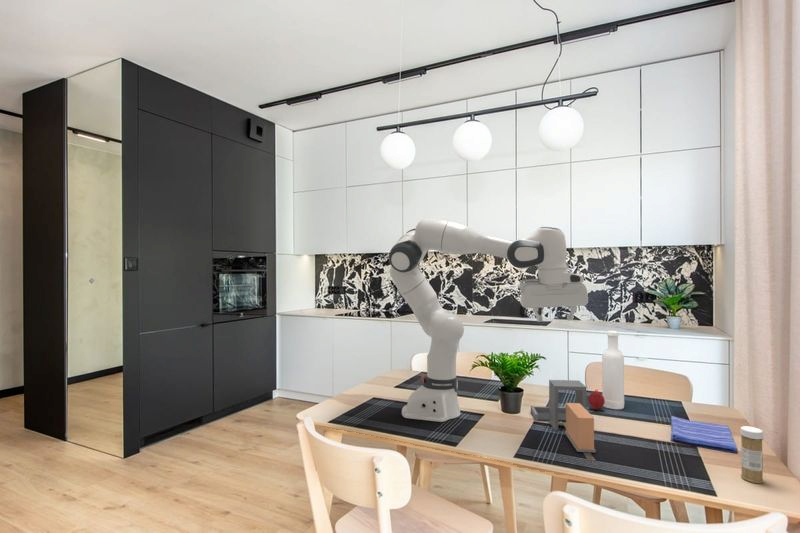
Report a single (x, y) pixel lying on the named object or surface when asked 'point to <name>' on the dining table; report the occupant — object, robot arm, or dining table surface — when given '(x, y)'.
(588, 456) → the rail
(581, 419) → the orange rectangular block
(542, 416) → the tray
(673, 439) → the dish towel
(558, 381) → the tunnel
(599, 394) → the onion
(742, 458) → the sprinkles bottle
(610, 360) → the bottle
